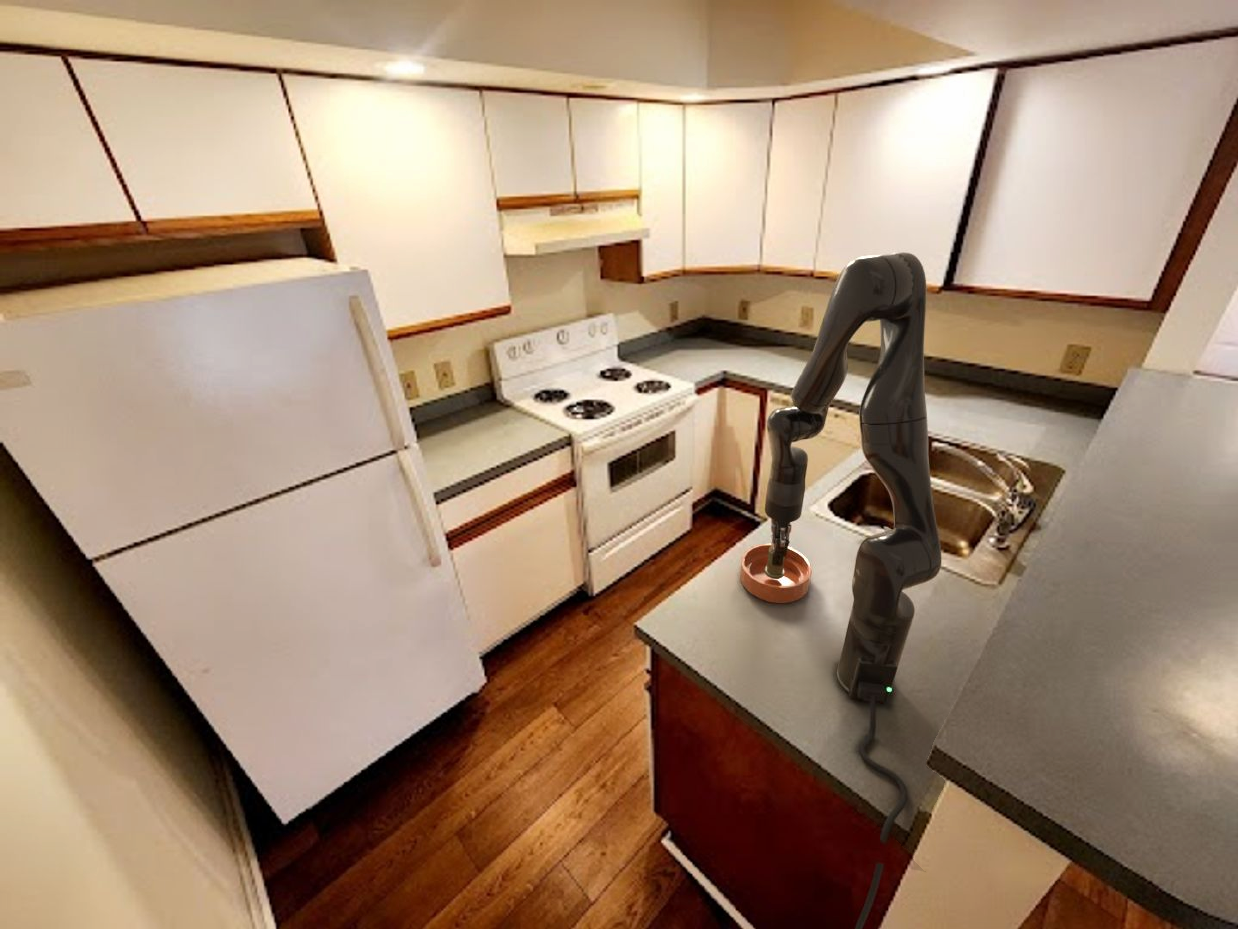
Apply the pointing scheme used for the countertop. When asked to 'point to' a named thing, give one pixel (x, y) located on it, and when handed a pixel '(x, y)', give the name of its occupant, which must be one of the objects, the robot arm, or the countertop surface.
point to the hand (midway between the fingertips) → (776, 558)
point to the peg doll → (772, 570)
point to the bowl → (775, 589)
